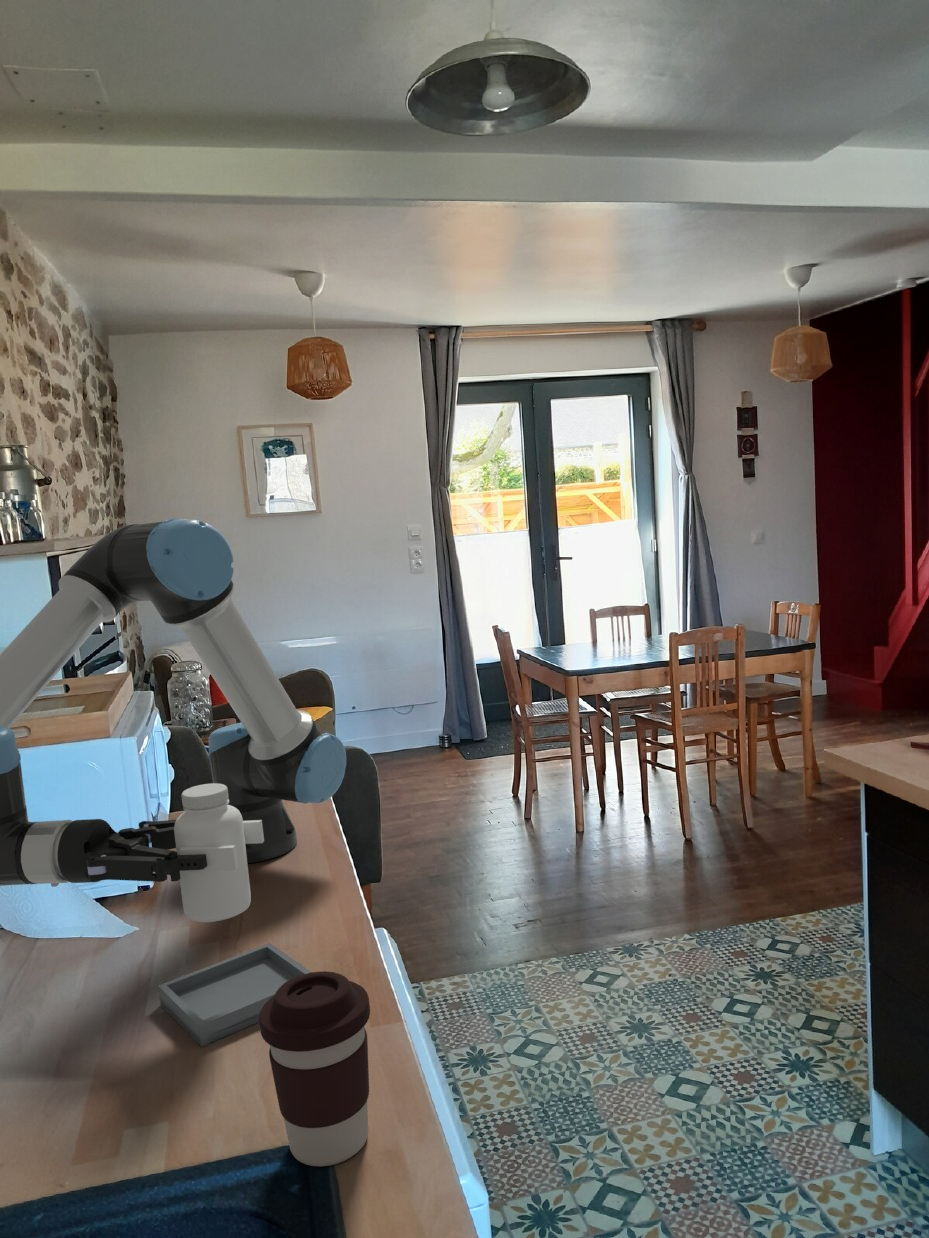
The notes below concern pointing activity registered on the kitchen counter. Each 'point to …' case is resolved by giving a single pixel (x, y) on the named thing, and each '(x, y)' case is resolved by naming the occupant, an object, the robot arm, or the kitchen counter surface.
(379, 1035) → the kitchen counter surface
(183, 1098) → the kitchen counter surface
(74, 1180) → the kitchen counter surface
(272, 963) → the tray
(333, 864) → the kitchen counter surface
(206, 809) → the pill bottle
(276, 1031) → the coffee cup
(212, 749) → the robot arm
